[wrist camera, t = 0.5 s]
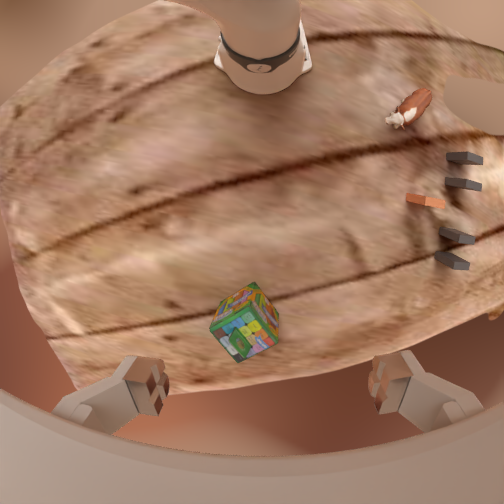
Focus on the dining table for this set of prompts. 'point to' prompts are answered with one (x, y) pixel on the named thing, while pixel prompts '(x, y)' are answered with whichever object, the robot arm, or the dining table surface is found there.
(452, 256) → the domino
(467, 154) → the domino
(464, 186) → the domino
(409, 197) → the domino
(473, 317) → the dining table surface
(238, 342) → the chalk box
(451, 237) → the domino
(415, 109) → the bull figurine
